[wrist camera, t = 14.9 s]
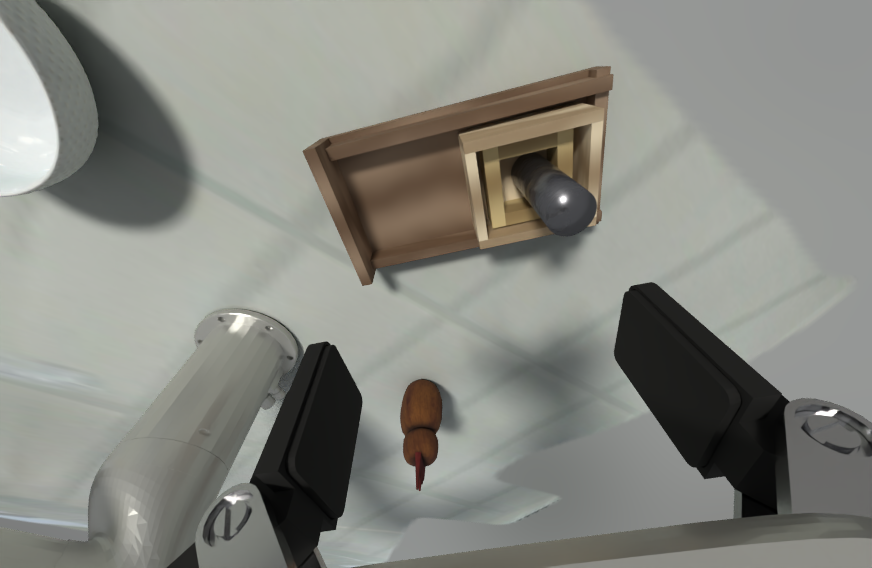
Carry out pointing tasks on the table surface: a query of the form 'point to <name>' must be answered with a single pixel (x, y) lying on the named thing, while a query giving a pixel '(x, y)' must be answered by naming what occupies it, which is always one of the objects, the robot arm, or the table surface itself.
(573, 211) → the handle peg
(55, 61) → the cereal bowl
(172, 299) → the table surface
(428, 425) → the wooden figurine
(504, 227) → the crate
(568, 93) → the tray
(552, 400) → the table surface
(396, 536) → the table surface
